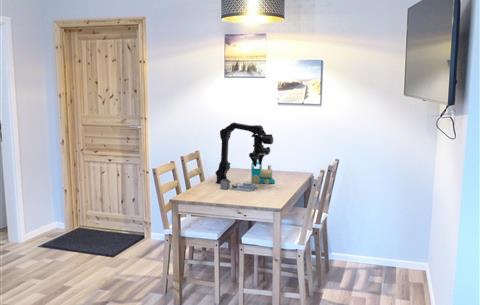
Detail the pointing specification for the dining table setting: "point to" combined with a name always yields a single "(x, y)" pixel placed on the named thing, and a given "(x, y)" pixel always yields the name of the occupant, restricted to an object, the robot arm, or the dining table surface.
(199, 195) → the dining table surface
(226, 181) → the grey block with tab
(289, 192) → the dining table surface
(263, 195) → the dining table surface
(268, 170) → the toy train
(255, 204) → the dining table surface
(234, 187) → the chassis
